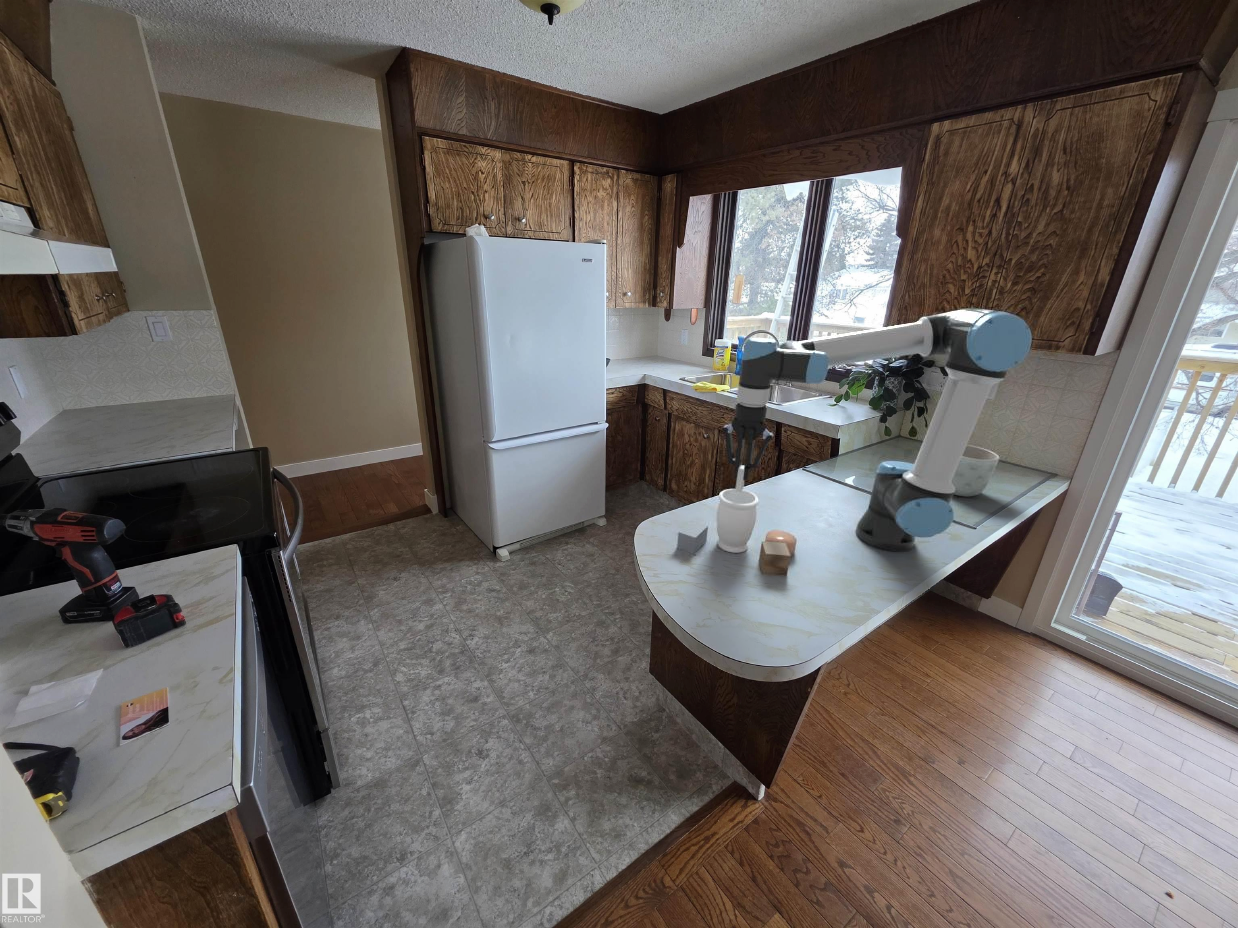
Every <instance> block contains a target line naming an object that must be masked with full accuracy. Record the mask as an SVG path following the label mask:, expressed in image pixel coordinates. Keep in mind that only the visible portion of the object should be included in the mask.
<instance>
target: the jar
mask: <svg viewBox="0 0 1238 928" xmlns="http://www.w3.org/2000/svg"><path fill="white" fill-rule="evenodd" d="M735 489H736V488H729V489H727V488H726V489H723V490H722V491H720V492H719V495H718V499H719V503H718V506H717V511H716V519H715V520H716V533H717V536H718V539H717V541H716V544H717V546H718V547H719V548H720V549H721V550H722V551H725V552H728V553H733V554H737V553H743V552H745V551H747V549H748V547H749V546H748V542H749V541H750V539H751V537H752V535H753V531H754V528H755V526H756V525H755V524H756V521H757V506H758V504H759V497H758V496H757V495H756V494H755V493H753V492H751V491H749V490H746V489H745V490H744V489H743V490H742V491H741V492H736V491H735Z"/></svg>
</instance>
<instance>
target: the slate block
mask: <svg viewBox="0 0 1238 928" xmlns="http://www.w3.org/2000/svg"><path fill="white" fill-rule="evenodd" d="M708 530H709V525H706V524H703V523H700V522H697V521H693V520H691V521H690V522H688V523H687V524H686V525H685V526H684V527H682V528H681V529H680V530H679V531H678V532H677V533H678V534H677V544H676V545H677V546H676V548H677V549H680V550H682V551H686V552H688V553H691V554H695V553H696V552H697V551H698V550H700V548H701V547H702V546H703V545H705V543H706V542H707V539H708Z"/></svg>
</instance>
